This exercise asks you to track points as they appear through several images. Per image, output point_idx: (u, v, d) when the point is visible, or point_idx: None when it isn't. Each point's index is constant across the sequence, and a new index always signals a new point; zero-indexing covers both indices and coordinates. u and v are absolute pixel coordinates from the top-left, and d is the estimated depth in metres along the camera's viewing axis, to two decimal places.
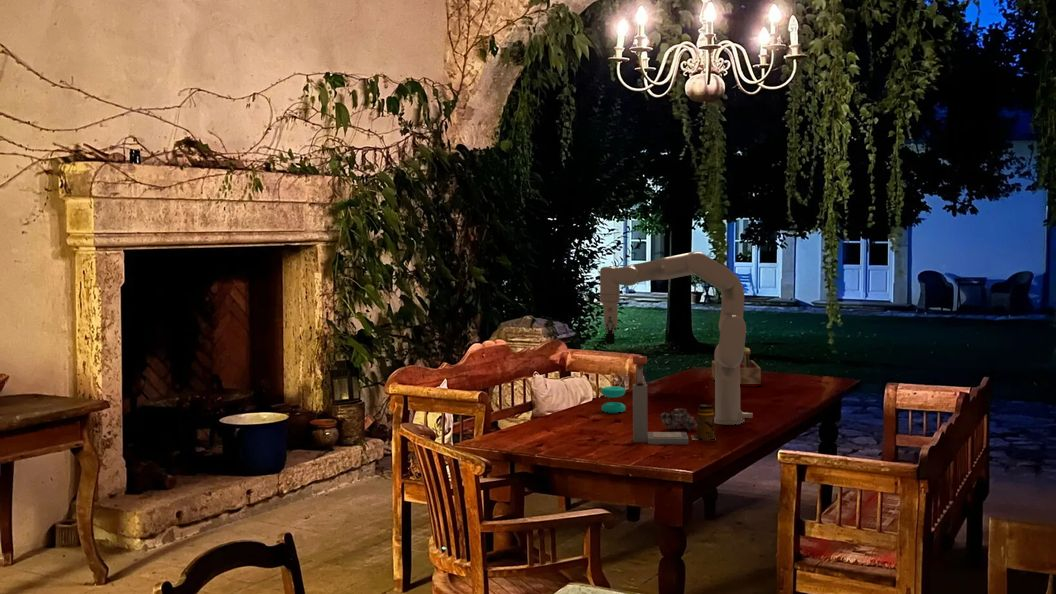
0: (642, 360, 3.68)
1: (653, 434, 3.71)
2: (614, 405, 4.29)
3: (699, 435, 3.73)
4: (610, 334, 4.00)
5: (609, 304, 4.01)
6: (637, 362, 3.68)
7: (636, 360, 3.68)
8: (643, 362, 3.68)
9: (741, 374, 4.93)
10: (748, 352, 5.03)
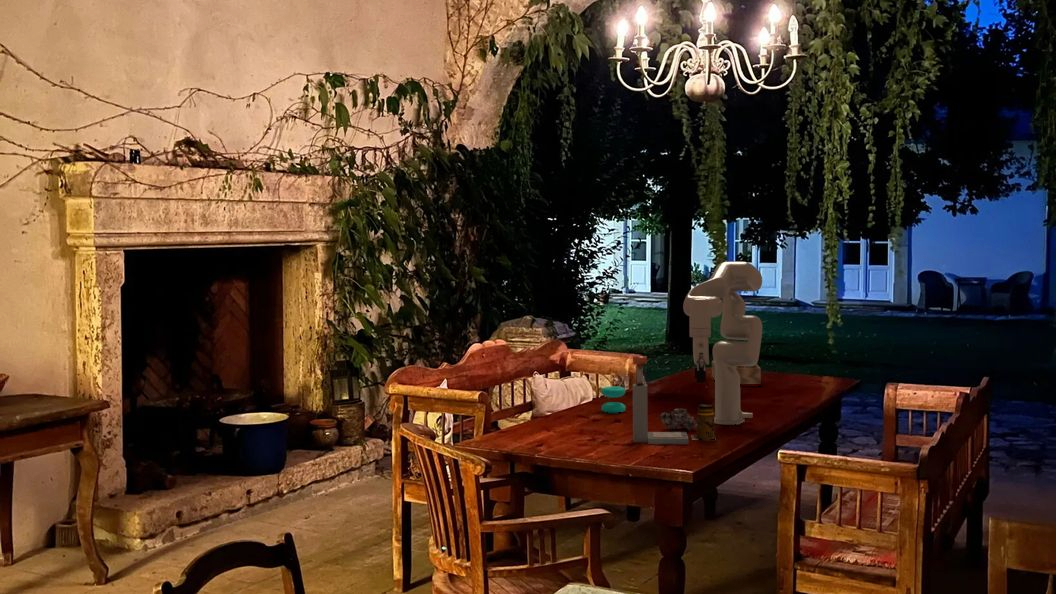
0: (642, 360, 3.68)
1: (653, 434, 3.71)
2: (614, 405, 4.29)
3: (699, 435, 3.73)
4: (701, 372, 3.68)
5: (700, 339, 3.69)
6: (637, 362, 3.68)
7: (636, 360, 3.68)
8: (643, 362, 3.68)
9: (741, 374, 4.93)
10: None
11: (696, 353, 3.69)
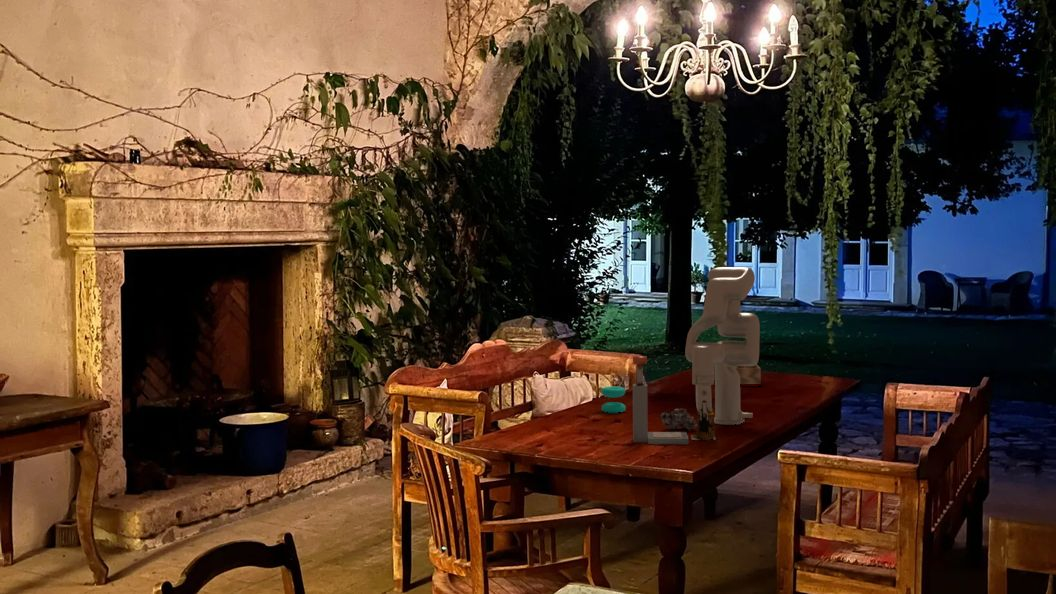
0: (642, 360, 3.68)
1: (653, 434, 3.71)
2: (614, 405, 4.29)
3: (699, 435, 3.73)
4: (704, 421, 3.70)
5: (703, 387, 3.69)
6: (637, 362, 3.68)
7: (636, 360, 3.68)
8: (643, 362, 3.68)
9: (741, 374, 4.93)
10: None
11: (699, 401, 3.69)
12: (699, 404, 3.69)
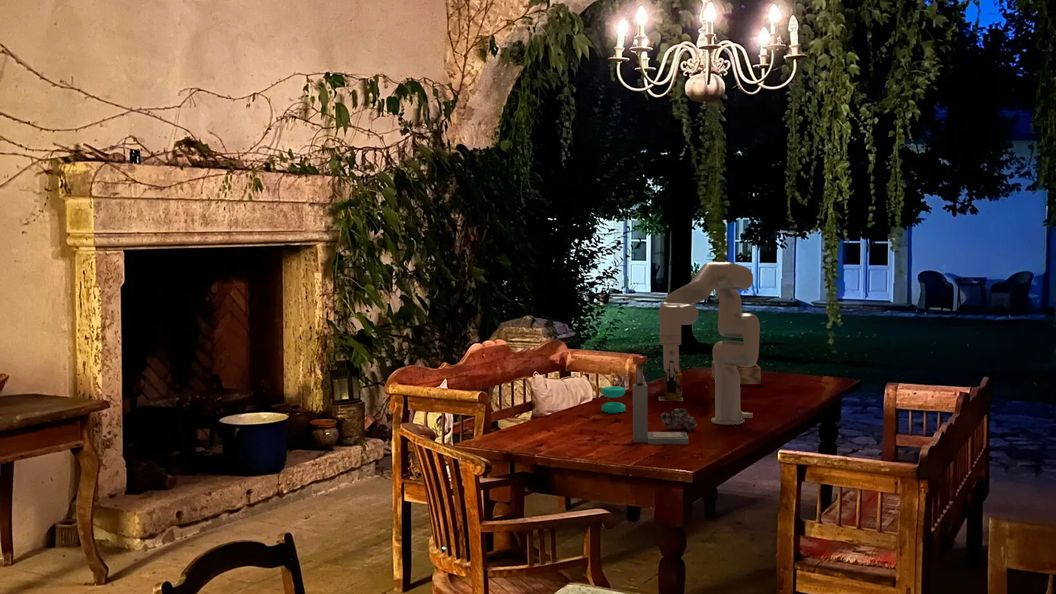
0: (642, 360, 3.68)
1: (653, 434, 3.71)
2: (614, 405, 4.29)
3: (666, 396, 3.69)
4: (671, 382, 3.66)
5: (670, 347, 3.65)
6: (637, 362, 3.68)
7: (636, 360, 3.68)
8: (643, 362, 3.68)
9: (741, 374, 4.93)
10: None
11: (666, 361, 3.65)
12: (666, 364, 3.65)
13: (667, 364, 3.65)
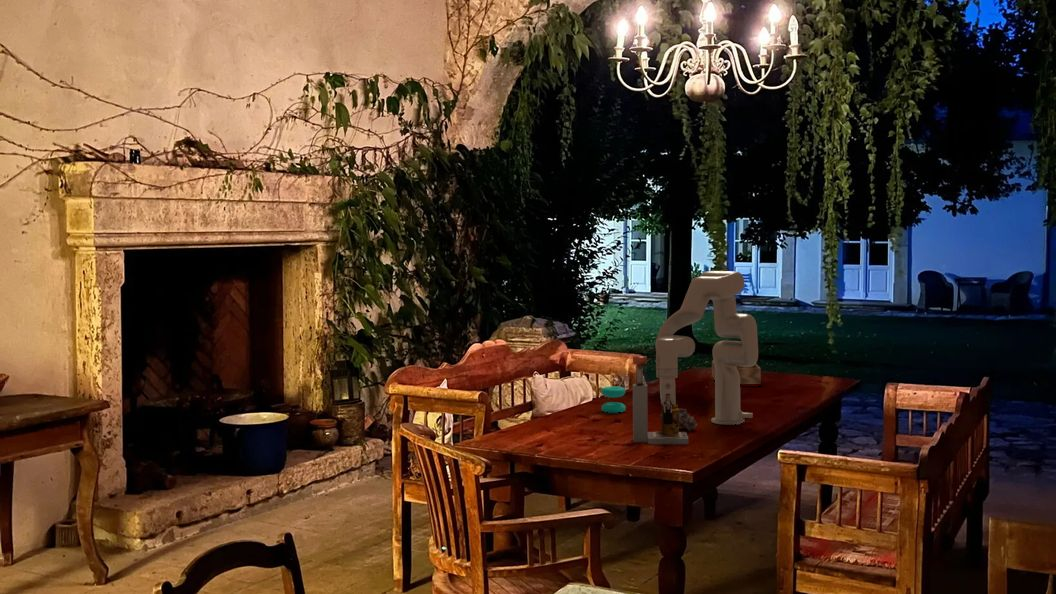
0: (642, 360, 3.68)
1: (653, 434, 3.71)
2: (614, 405, 4.29)
3: (663, 431, 3.69)
4: (668, 414, 3.65)
5: (667, 380, 3.65)
6: (637, 362, 3.68)
7: (636, 360, 3.68)
8: (643, 362, 3.68)
9: (741, 374, 4.93)
10: None
11: (663, 394, 3.65)
12: (663, 397, 3.65)
13: (663, 397, 3.65)
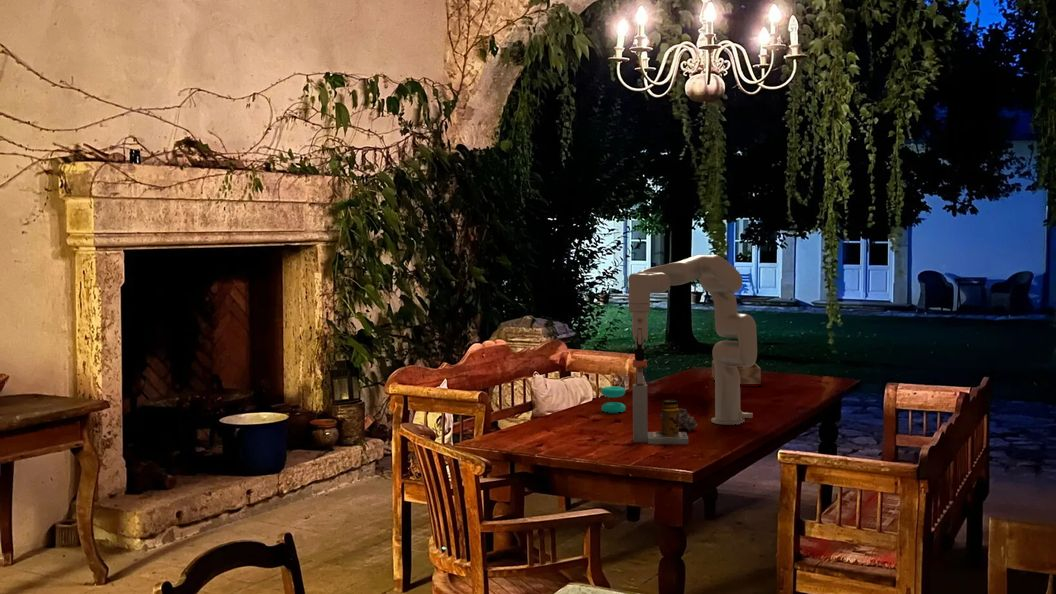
0: (642, 364, 3.68)
1: (653, 434, 3.71)
2: (614, 405, 4.29)
3: (663, 431, 3.69)
4: (639, 350, 3.68)
5: (639, 314, 3.65)
6: (637, 365, 3.68)
7: (636, 363, 3.68)
8: (643, 365, 3.68)
9: (741, 374, 4.93)
10: None
11: (635, 329, 3.65)
12: (634, 332, 3.65)
13: (635, 332, 3.65)
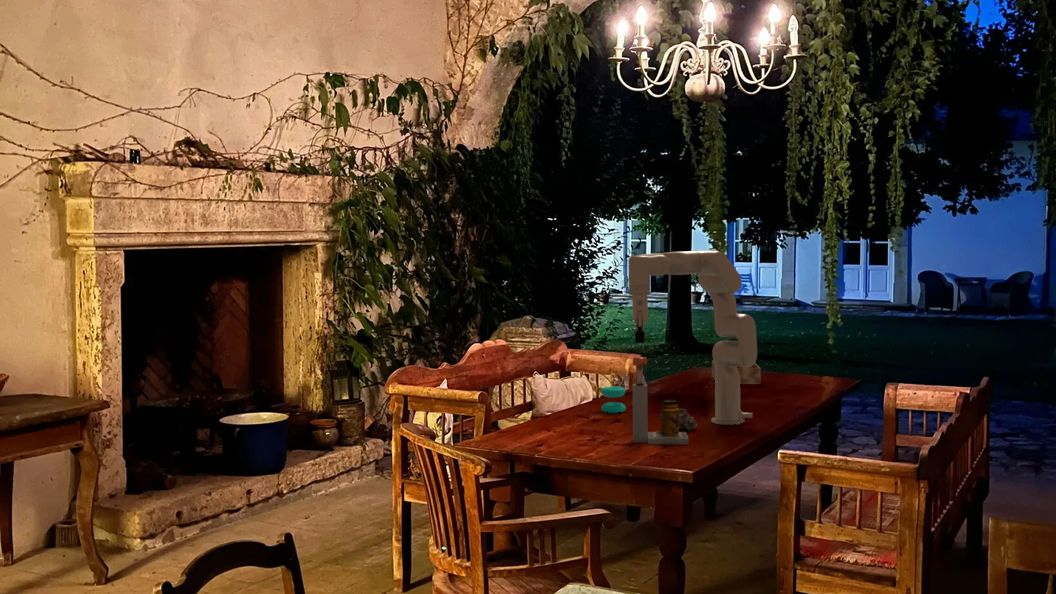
0: (642, 361, 3.68)
1: (653, 434, 3.71)
2: (614, 405, 4.29)
3: (663, 431, 3.69)
4: (640, 332, 3.68)
5: (639, 297, 3.64)
6: (637, 363, 3.68)
7: (636, 361, 3.68)
8: (643, 363, 3.68)
9: (741, 374, 4.93)
10: None
11: (635, 311, 3.64)
12: (635, 314, 3.65)
13: (636, 314, 3.64)
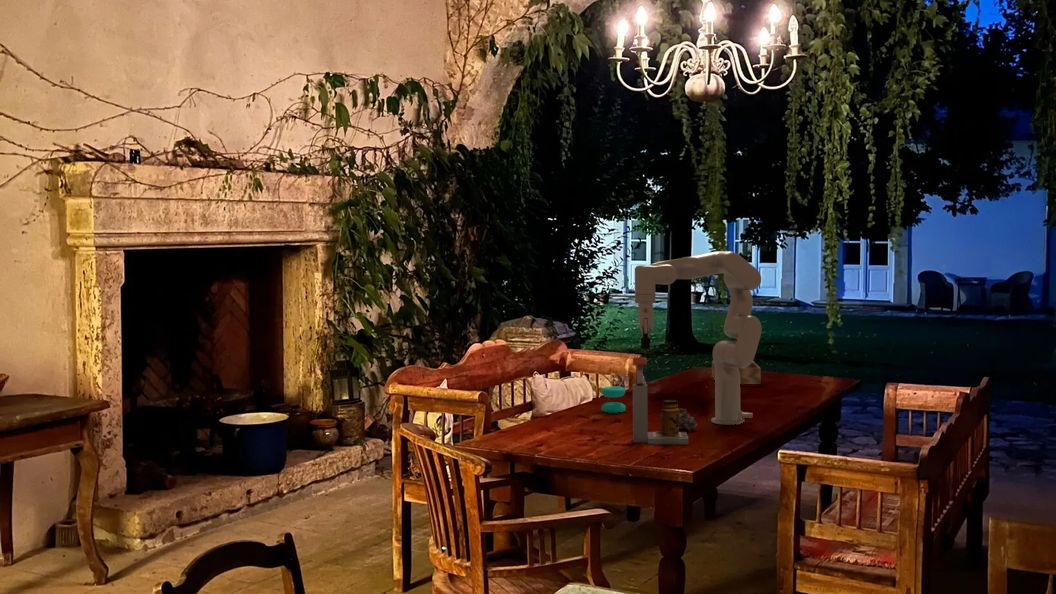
0: (642, 361, 3.68)
1: (653, 434, 3.71)
2: (614, 405, 4.29)
3: (663, 431, 3.69)
4: (645, 338, 3.84)
5: (645, 305, 3.80)
6: (637, 363, 3.68)
7: (636, 361, 3.68)
8: (643, 363, 3.68)
9: (741, 374, 4.93)
10: None
11: (641, 318, 3.80)
12: (641, 321, 3.80)
13: (641, 321, 3.80)
